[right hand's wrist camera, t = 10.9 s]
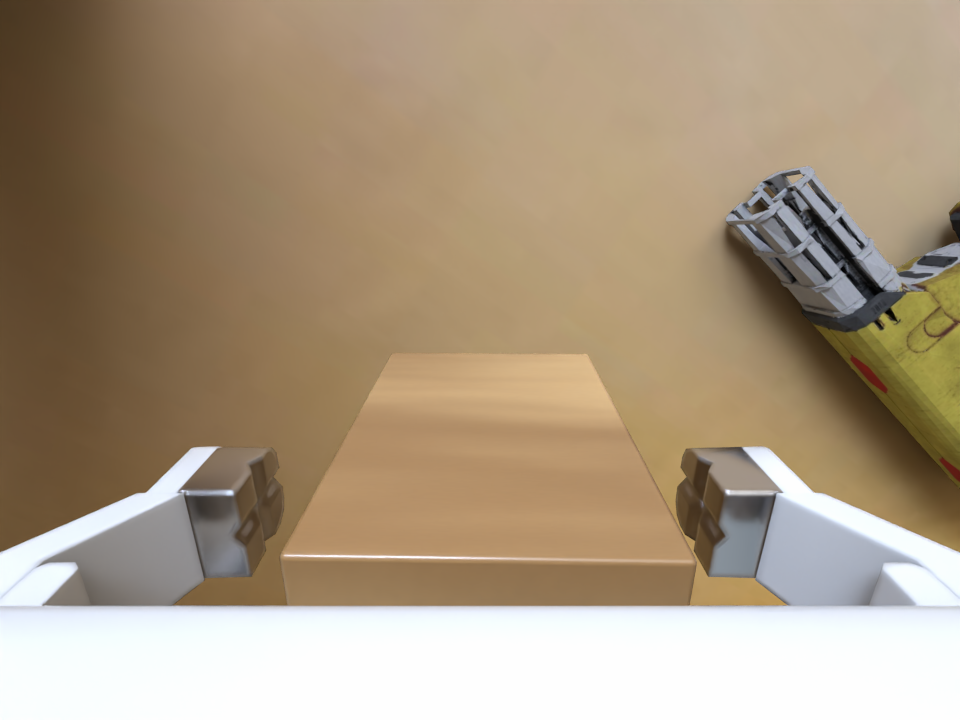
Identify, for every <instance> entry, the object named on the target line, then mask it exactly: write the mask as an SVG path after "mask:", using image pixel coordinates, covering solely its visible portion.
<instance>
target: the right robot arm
mask: <svg viewBox="0 0 960 720" xmlns="http://www.w3.org/2000/svg"><path fill="white" fill-rule="evenodd" d="M278 469H279V463H278V458H277V453H276V452H275V451H274V450H273V448H257V447H220V446H215V447H195V448H191V449H190V450H189V451H188V452H187V453H186V454H185V455H184V456H183V457H182V458H181V459H180V460H179V461H178V462H177V463H176V464H175V465H174V466H173V467H172V468H171V469H170V470H169V471H168V472H167V473H166V474H165V475H164V476H163V477H162V478H161V479H160V480H159V481H158V482H156V483H155V484H154V485H153V486H152V487H151V488H150V489H149V490H148V491H147V492H146V493H136V494H134V495H132V496H129V497H127V498H125V499H122V500H120V501H118V502H116V503H113V504H111V505H109V506H106V507H104V508H102V509H99V510H97V511H95V512H92V513H90V514H88V515H86V516H83V517H81V518H79V519H76V520H74V521H72V522H69V523H67V524H65V525H63V526H60V527H58V528H56V529H53V530H51V531H49V532H46V533H44V534H42V535H39V536H37V537H35V538H33V539H30V540H28V541H26V542H23V543H21V544H19V545H16V546H14V547H12V548H9V549H7V550H5V551H3V552H0V720H960V553H959V552H957V551H955V550H952V549H950V548H948V547H946V546H943V545H941V544H939V543H936V542H934V541H932V540H929V539H927V538H925V537H923V536H920V535H918V534H916V533H913V532H911V531H909V530H906V529H904V528H902V527H900V526H897V525H895V524H893V523H890V522H888V521H886V520H883V519H881V518H879V517H877V516H874V515H872V514H870V513H867V512H865V511H863V510H860V509H858V508H856V507H854V506H851V505H849V504H847V503H844V502H842V501H840V500H837V499H835V498H833V497H831V496H828V495H826V494H824V493H814V492H813V491H812V490H811V489H810V488H809V487H808V486H807V485H806V484H805V483H804V482H803V481H802V480H801V479H800V478H798V477H797V476H796V475H795V474H794V473H793V472H792V471H791V470H790V469H789V468H788V467H787V466H786V465H785V464H784V463H783V462H782V461H781V460H780V459H779V458H778V457H777V456H776V455H775V454H774V453H773V452H772V451H771V450H770V449H769V448H766V447H763V446H756V447H722V448H690V449H686V450H685V452H684V454H683V457H682V462H681V469H682V470H683V472H684V473H685V475H686V476H687V477H686V478H685V479H684V480H683V481H682V482H681V483H680V484H679V485H678V487H677V494H676V510H677V517H678V520H679V523H680V526H681V528H682V530H683V532H684V534H685V535H687V536H688V537H690V538H691V539H693V540H695V547H694V552H695V554H696V555H697V557H698V559H699V561H700V563H701V564H702V566H703V568H704V570H705V572H706V573H707V575H708V577H740V578H756V579H755V580H756V581H757V582H759V583H760V584H761V585H762V586H764V587H765V588H766V589H768V590H769V591H770V592H771V593H773V594H774V595H775V596H777V597H778V598H779V599H781V600H782V601H783V602H784V603H786V604H787V605H788V606H172V605H173V604H174V603H176V602H177V601H178V600H180V599H181V598H182V597H184V596H185V595H186V594H187V593H189V592H190V591H191V590H193V589H194V588H195V587H196V586H198V585H199V584H200V583H202V582H203V581H204V580H205V579H204V578H219V577H252V575H253V573H254V572H255V570H256V568H257V566H258V564H259V563H260V561H261V559H262V557H263V555H264V554H265V552H266V547H265V540H267V539H269V538H270V537H272V536H273V535H275V534H276V532H277V530H278V528H279V526H280V524H281V520H282V516H283V511H284V493H283V487H282V486H281V484H280V483H279V482H278V481H277V480H276V479H275V478H274V477H273V476H274V475H275V473H276V472H277V470H278Z"/></svg>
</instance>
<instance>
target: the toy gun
mask: <svg viewBox="0 0 960 720" xmlns="http://www.w3.org/2000/svg"><path fill="white" fill-rule="evenodd" d="M814 173H815V171H814V170H813V169H812V168H811V167H810V166H806V167H801V168H796V169H791V170H786V171H780V172H777V173H775V174H773V175H771V176H769V177H768V178H766V179H765V180H764V181H762V182H761V183H760V184H759V185H758V186H757V187H756V188H755V189H754V190H753V191H752V192H753V193H754V194H755V195H754V196H753V197H752V198H751V199H750V200H749V201H748V202H747V203H739V204H738V205H737V206H736V207H735V208H734V209H733V210H732V211H731V212H730V213H729V215H728V216H727V217H726V222H727V223H728V224H729V225H732V226H733V227H734V228H735V229H736V230H737V231H738V232H739V234H740V235H741V236H742V237H743V238H744V239H745V240H746V242H747V243H748V244H749V245H750V246H751V247H752V248H753V253H754V254H755V255H756V256H760V257H761V258H762V260H763V261H764V262H765V263H766V264H767V265H768V266H769V267H770V269H771V270H772V271H773V272H774V273H775V274H776V275H777V276H778V278H779V279H780V280H781V282H780V283H781V284H782V285H783V286H784V287H787V288H788V289H789V290H790V291H791V293H792V294H793V295H794V296H795V298H796V299H797V300H798V301H799V303H800V304H801V306H802V307H803V309H802V314H803V315H804V316H805V317H806V318H807V319H808V320H809V321H810V322H811V323H812V324H813V325H814V326H815V327H816V328H817V329H818V331H819V332H820V333H821V334H822V335H823V336H824V337H825V338H826V340H827V341H828V342H829V343H830V344H831V345H832V346H833V347H834V349H835V350H836V351H837V352H838V353H839V354H840V355H841V356H842V358H843V359H844V360H845V361H846V362H847V363H848V364H849V365H850V366H851V368H852V369H853V370H854V371H855V372H856V373H857V374H858V375H859V377H860V378H861V379H862V380H863V381H864V382H865V383H866V384H867V386H868V387H869V388H870V389H871V390H872V391H873V392H874V393H875V395H876V396H877V397H878V398H879V399H880V400H881V401H882V402H883V403H884V405H885V406H886V407H887V408H888V409H889V410H890V411H891V412H892V414H893V415H894V416H895V417H896V418H897V419H898V420H899V421H900V423H901V424H902V425H903V426H904V427H905V428H906V429H907V430H908V431H909V433H910V434H911V435H912V436H913V437H914V438H915V439H916V440H917V442H918V443H919V444H920V445H921V446H922V447H923V448H924V449H925V451H926V452H927V453H928V454H929V455H930V456H931V457H932V458H933V460H934V461H935V462H936V463H937V464H938V465H939V466H940V467H941V468H942V470H943V471H944V472H945V473H946V474H947V475H948V476H949V477H950V479H951V480H952V481H953V482H954V483H955V484H956V485H957V486H958V488H959V489H960V243H953V244H950V245H947V246H945V247H942V248H939V249H937V250H934V251H932V252H929V253H926V254H925V255H924V256H923V257H915V258H914V259H912V260H911V261H909V262H907V263H906V264H904V265H903V266H901V267H899V268H897V269H895V268H894V266H893V265H892V264H888V263H887V261H886V260H885V259H884V258H883V256H882V255H881V254H880V253H879V251H878V250H877V249H876V248H875V246H874V241H873V240H872V239H871V238H867V237H866V235H865V234H864V233H863V232H862V231H861V229H860V228H859V227H858V226H857V224H856V223H855V222H854V221H853V220H852V218H851V217H850V216H849V215H848V214H847V212H846V211H845V208H844V207H843V205H842V204H841V203H837V202H836V200H835V199H834V198H833V197H832V195H831V194H830V193H829V192H828V190H827V189H826V188H825V187H824V185H823V184H822V183H821V182H820V180H819V179H818V178H817V176H816V175H815V174H814ZM796 174H802V175H803V176H804V177H802V178H801V179H800V180H798V181H797V182H795V183H794V184H792V183H791V182H790V181H789V179H788V178H787V177H786V176H791V175H796ZM807 182H808V183H809V185H810V186H811V188H812V189H813V190H814V192H815V193H816V194H815V193H814V192H813V191H812V190H811V189H810V188H809V187H808V186H807V184H806V183H807ZM766 186H768V187H769V188H770V189H771V190H772V192H773V193H774V194H775V195H776V196H775V197H774V198H773V199H772V198H771V197H770V196H769V195H768V194H767V193H766V192H765V191H764V190H763V189H764V188H765V187H766ZM758 199H759V200H760V201H761V202H762V203H763V204H764V206H765V207H766V208H767V209H768V210H765V211H763V212H760V213H757V214H754V215H752V214H751V213H750V211H749V210H748V209H747V208H748V207H751V206H752V205H753V204H754V203H755V202H756V201H757V200H758ZM949 215H950V220H951V223H952V228H953V230H955V231H956V234H957V236H958V238H959V240H960V202H958V203H957V204H956V205H955V206H954V208H953V209H952V210H951V211H950V212H949ZM774 217H775V218H776V219H777V221H778V222H777V221H776V219H775V218H774ZM778 223H779V224H778Z"/></svg>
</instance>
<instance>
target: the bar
mask: <svg viewBox="0 0 960 720" xmlns="http://www.w3.org/2000/svg"><path fill="white" fill-rule="evenodd" d="M280 564H281V570H282V576H283V582H284V588H285V594H286V600H287V606H689V605H690V599H691V594H692V588H693V582H694V577H695V571H696V564H697V562H696V559H695V557H694V555H693V553H692V551H691V549H690V547H689V545H688V544H687V542H686V540H685V538H684V536H683V534H682V532H681V530H680V528H679V527H678V525H677V523H676V521H675V519H674V517H673V515H672V513H671V511H670V509H669V508H668V506H667V504H666V502H665V500H664V498H663V496H662V494H661V492H660V490H659V489H658V487H657V485H656V483H655V481H654V479H653V477H652V475H651V473H650V472H649V470H648V468H647V466H646V464H645V462H644V460H643V458H642V456H641V454H640V453H639V451H638V449H637V447H636V445H635V443H634V441H633V439H632V437H631V435H630V434H629V432H628V430H627V428H626V426H625V424H624V422H623V420H622V418H621V417H620V415H619V413H618V411H617V409H616V407H615V405H614V403H613V401H612V399H611V398H610V396H609V394H608V392H607V390H606V388H605V386H604V384H603V382H602V380H601V379H600V377H599V375H598V373H597V371H596V369H595V367H594V365H593V363H592V362H591V360H590V358H589V356H588V355H587V354H464V353H393V354H391V355H390V357H389V359H388V361H387V363H386V364H385V366H384V368H383V370H382V372H381V373H380V375H379V377H378V379H377V381H376V382H375V384H374V386H373V388H372V390H371V391H370V393H369V395H368V397H367V399H366V400H365V402H364V404H363V406H362V408H361V409H360V411H359V413H358V415H357V417H356V419H355V420H354V422H353V424H352V426H351V428H350V429H349V431H348V433H347V435H346V437H345V438H344V440H343V442H342V444H341V446H340V447H339V449H338V451H337V453H336V455H335V456H334V458H333V460H332V462H331V464H330V465H329V467H328V469H327V471H326V473H325V474H324V476H323V478H322V480H321V482H320V483H319V485H318V487H317V489H316V491H315V492H314V494H313V496H312V498H311V500H310V501H309V503H308V505H307V507H306V509H305V510H304V512H303V514H302V516H301V518H300V519H299V521H298V523H297V525H296V527H295V528H294V530H293V532H292V534H291V536H290V537H289V539H288V541H287V543H286V545H285V546H284V548H283V550H282V552H281V554H280Z"/></svg>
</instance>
